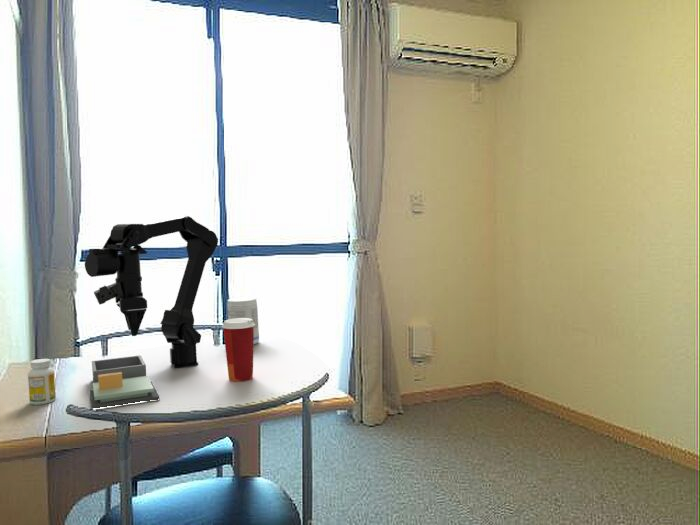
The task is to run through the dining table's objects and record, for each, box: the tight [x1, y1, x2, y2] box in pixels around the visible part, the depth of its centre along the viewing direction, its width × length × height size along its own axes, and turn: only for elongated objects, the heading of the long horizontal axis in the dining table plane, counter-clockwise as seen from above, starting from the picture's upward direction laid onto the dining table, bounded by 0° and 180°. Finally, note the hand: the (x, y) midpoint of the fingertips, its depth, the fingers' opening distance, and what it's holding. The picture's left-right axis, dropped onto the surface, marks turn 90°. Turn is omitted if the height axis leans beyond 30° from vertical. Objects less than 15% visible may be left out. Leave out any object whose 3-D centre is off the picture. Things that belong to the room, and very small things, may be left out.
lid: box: [92, 372, 154, 402], centre depth 138 cm, size 12×12×5 cm
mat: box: [89, 380, 160, 409], centre depth 138 cm, size 14×14×1 cm
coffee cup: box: [221, 318, 255, 383], centre depth 151 cm, size 8×8×15 cm
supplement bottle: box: [27, 358, 57, 406], centre depth 136 cm, size 5×5×10 cm
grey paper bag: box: [227, 296, 260, 346], centre depth 193 cm, size 10×10×15 cm
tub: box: [91, 355, 147, 384], centre depth 151 cm, size 12×12×5 cm
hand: (132, 332), depth 154 cm, fingers open, 9 cm apart
